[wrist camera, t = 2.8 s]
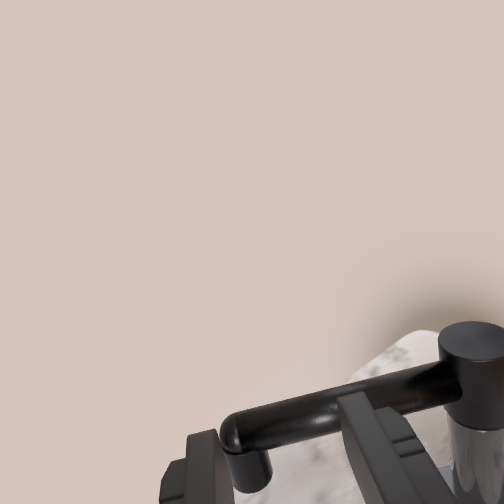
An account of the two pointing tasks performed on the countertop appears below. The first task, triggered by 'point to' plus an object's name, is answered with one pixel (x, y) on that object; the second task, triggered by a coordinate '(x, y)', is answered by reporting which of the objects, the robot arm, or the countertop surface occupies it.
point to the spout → (377, 401)
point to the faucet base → (475, 464)
